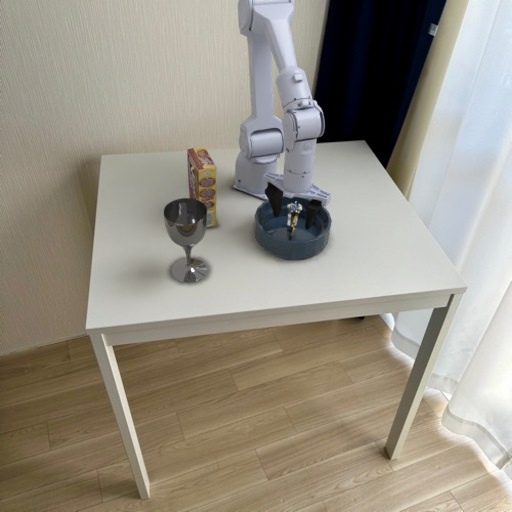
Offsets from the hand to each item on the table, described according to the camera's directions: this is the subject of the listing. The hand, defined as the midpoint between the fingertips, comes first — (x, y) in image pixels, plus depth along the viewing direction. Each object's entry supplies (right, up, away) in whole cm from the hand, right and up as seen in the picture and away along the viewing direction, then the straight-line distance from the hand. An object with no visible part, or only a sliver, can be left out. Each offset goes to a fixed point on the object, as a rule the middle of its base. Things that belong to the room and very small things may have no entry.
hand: (292, 220), depth 111 cm
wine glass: (-21, -11, -6) cm, 25 cm away
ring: (0, -3, +2) cm, 4 cm away
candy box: (-20, +1, +7) cm, 21 cm away
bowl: (0, -3, +3) cm, 4 cm away
